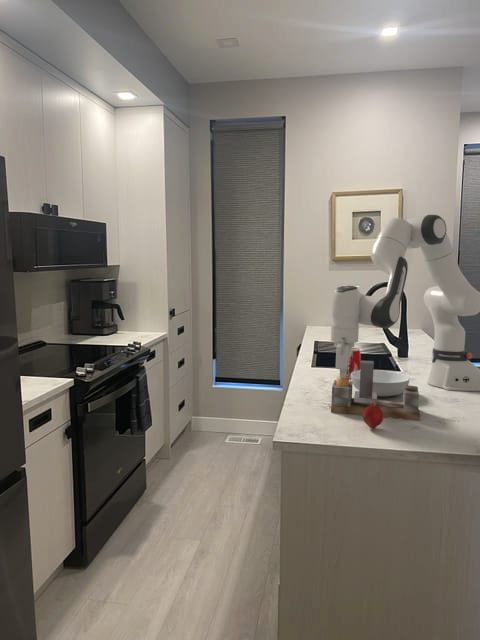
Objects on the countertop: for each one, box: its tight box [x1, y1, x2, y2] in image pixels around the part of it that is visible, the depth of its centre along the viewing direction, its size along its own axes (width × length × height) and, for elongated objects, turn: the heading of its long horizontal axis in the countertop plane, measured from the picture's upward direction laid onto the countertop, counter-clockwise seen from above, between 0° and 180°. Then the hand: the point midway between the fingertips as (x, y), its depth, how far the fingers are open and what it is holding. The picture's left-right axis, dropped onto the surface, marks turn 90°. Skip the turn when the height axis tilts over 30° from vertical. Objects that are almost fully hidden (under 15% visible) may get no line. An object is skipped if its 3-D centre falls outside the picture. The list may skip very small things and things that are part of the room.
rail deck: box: [330, 379, 421, 421], centre depth 163 cm, size 27×12×9 cm, turn 75°
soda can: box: [346, 347, 362, 378], centre depth 207 cm, size 7×7×12 cm
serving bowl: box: [350, 369, 411, 398], centre depth 183 cm, size 21×21×7 cm
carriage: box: [353, 359, 378, 404], centre depth 163 cm, size 7×8×12 cm
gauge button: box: [336, 375, 350, 386], centre depth 165 cm, size 4×4×8 cm
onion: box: [362, 402, 384, 429], centre depth 146 cm, size 6×6×8 cm
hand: (342, 377), depth 165 cm, fingers closed
